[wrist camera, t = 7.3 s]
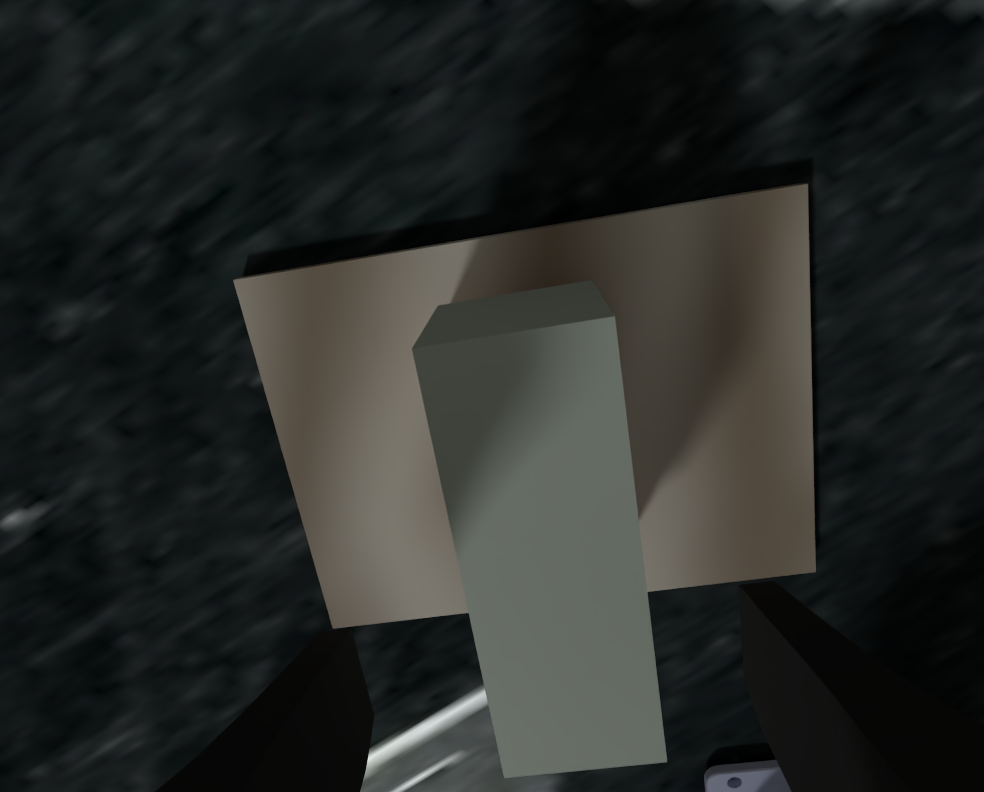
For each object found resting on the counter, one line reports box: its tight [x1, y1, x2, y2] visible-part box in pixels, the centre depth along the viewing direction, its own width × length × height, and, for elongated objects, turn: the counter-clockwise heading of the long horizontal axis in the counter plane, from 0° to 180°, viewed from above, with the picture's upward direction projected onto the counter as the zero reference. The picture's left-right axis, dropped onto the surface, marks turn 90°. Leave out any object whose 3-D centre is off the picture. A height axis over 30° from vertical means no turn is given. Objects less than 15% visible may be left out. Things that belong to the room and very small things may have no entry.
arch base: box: [233, 183, 816, 628], centre depth 19 cm, size 16×12×4 cm
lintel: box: [412, 280, 667, 778], centre depth 15 cm, size 4×10×4 cm, turn 10°
